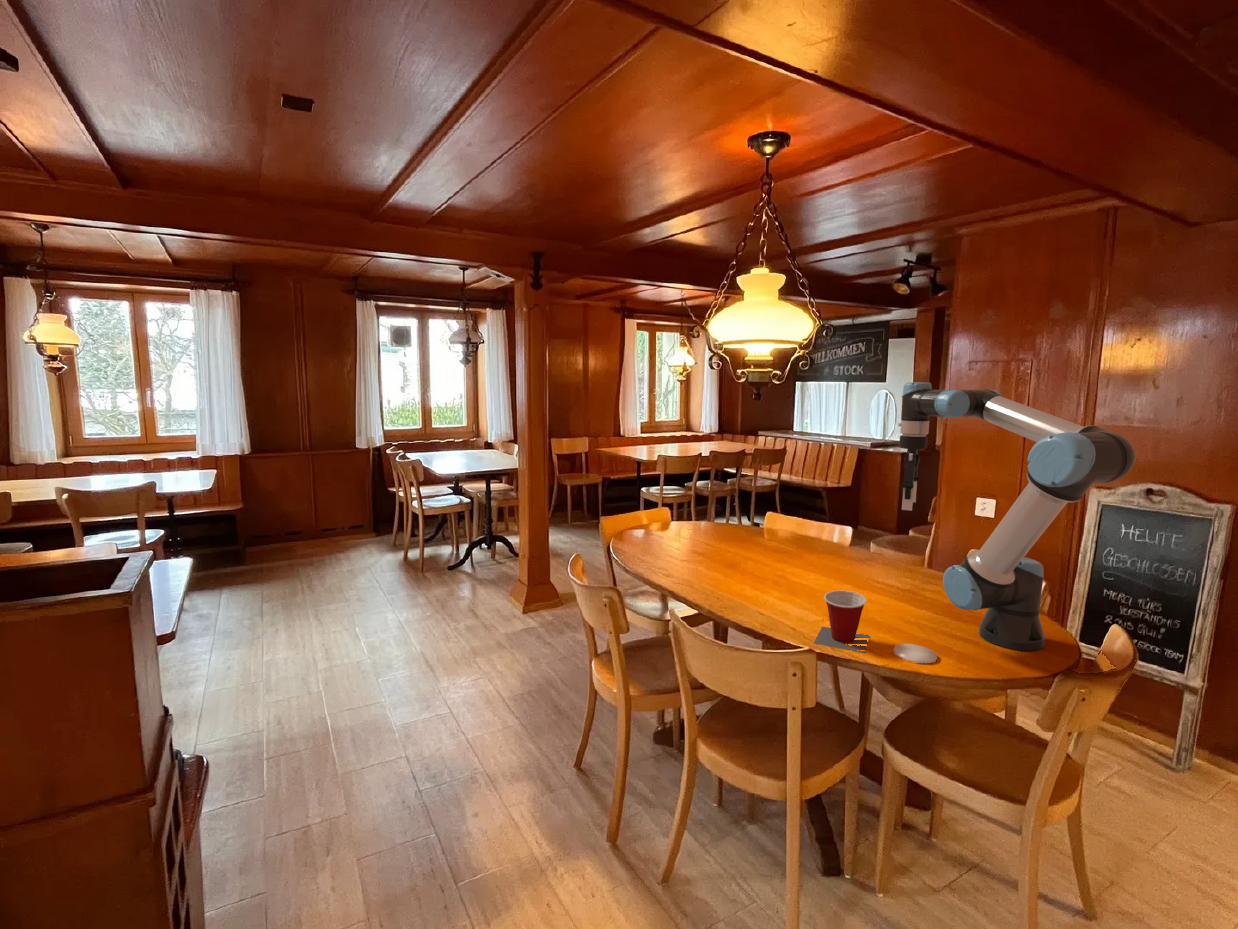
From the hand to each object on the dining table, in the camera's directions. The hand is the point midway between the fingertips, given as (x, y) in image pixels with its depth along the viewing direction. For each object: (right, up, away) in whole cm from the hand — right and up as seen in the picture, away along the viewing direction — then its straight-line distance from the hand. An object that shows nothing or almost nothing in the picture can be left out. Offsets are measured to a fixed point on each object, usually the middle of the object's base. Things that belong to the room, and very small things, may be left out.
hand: (908, 506), depth 185 cm
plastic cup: (-26, -35, -16) cm, 47 cm away
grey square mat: (-26, -36, -16) cm, 47 cm away
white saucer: (-11, -37, -26) cm, 46 cm away
